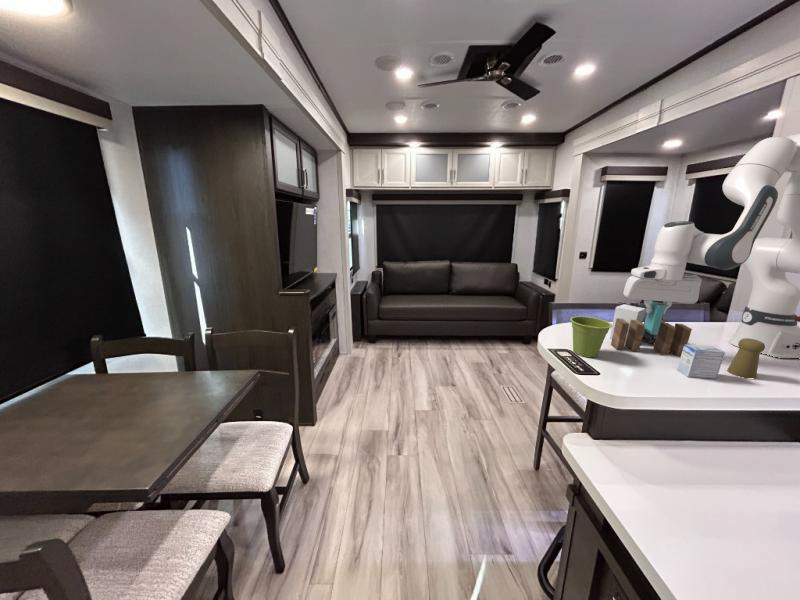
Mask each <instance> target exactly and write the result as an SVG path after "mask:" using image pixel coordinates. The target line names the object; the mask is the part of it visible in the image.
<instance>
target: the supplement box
mask: <svg viewBox="0 0 800 600" xmlns="http://www.w3.org/2000/svg"><path fill="white" fill-rule="evenodd" d="M645 314H646V308H644V307H640V306H639V307H638V306H634V305H631V304H630V305H629V304H625V303H623V304H621V305H617V306H615V310H614V315H613V320H612V323H611V324H612V327H611V328H610V329H611V330H610V335H609V339H611V340H612V337H613V332H614V328H615V323H616V319H617V318H618V319H624V320H625V321H627V322H628V323H630V322H631V320H638V321H640V322H641V323H643V324H644V320H645V316H646V315H645ZM629 326H630V324H629ZM628 330H629V328H628ZM627 334H628V332H627ZM626 339H627V337H626ZM625 343H626V341H625Z"/></svg>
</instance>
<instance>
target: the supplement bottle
mask: <svg viewBox="0 0 800 600" xmlns="http://www.w3.org/2000/svg"><path fill="white" fill-rule="evenodd" d="M663 317H664V315H663V316H662V320H661V322H665V323H666V319H664V318H663ZM645 320H646V316H644V319H643V324H645ZM656 337H657V335H653V334H650V333H648V332H647V331H645V330H643V334H642V338H641V341H642V342H645V343H649V344H654V345H655V341H656Z"/></svg>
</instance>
